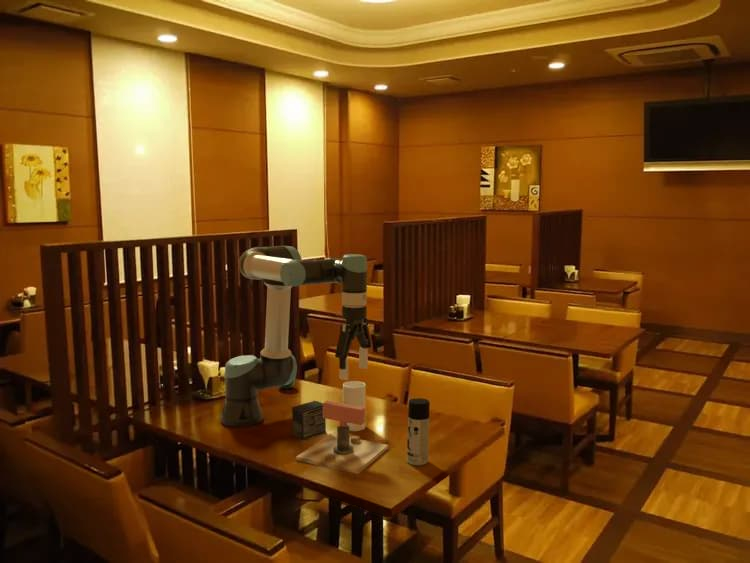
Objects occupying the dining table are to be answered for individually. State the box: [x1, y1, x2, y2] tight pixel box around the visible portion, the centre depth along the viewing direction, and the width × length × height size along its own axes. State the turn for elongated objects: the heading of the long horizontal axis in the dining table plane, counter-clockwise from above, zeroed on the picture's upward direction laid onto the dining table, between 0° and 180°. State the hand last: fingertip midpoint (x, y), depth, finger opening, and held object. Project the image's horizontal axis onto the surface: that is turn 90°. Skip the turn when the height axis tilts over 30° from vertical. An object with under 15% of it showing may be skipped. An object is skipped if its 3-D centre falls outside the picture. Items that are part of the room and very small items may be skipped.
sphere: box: [280, 378, 296, 390], centre depth 274 cm, size 8×8×8 cm
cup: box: [342, 380, 367, 432], centre depth 230 cm, size 8×8×16 cm
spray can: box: [406, 397, 431, 467], centre depth 201 cm, size 7×7×20 cm
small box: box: [291, 400, 327, 441], centre depth 223 cm, size 11×6×10 cm, turn 134°
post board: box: [295, 424, 389, 475], centre depth 206 cm, size 22×22×9 cm
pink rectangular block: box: [322, 400, 366, 428], centre depth 205 cm, size 14×3×7 cm, turn 65°
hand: (353, 373), depth 196 cm, fingers open, 13 cm apart
